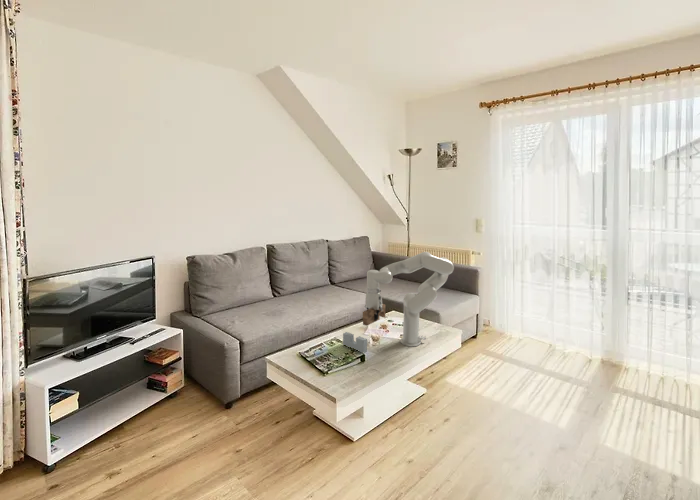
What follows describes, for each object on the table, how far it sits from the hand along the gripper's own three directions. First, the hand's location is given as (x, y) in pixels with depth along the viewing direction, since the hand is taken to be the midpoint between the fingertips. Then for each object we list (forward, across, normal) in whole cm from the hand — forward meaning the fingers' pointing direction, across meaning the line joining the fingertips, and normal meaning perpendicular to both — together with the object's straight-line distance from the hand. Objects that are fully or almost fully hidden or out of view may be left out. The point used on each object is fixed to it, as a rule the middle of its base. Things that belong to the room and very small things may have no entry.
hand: (373, 318), depth 239 cm
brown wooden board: (+1, 0, -1) cm, 1 cm away
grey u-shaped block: (+15, +3, +15) cm, 21 cm away
